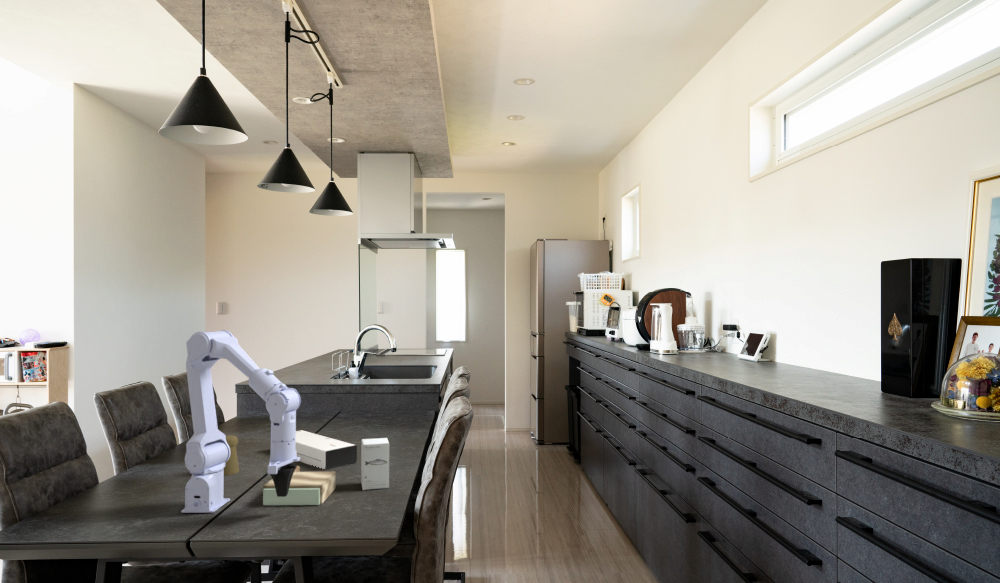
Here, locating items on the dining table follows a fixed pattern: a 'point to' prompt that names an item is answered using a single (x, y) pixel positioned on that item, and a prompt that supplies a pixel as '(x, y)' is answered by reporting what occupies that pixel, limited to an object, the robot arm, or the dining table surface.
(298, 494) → the tray
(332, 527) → the dining table surface
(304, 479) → the block
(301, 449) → the laminator
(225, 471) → the pepper mill
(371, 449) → the supplement box
